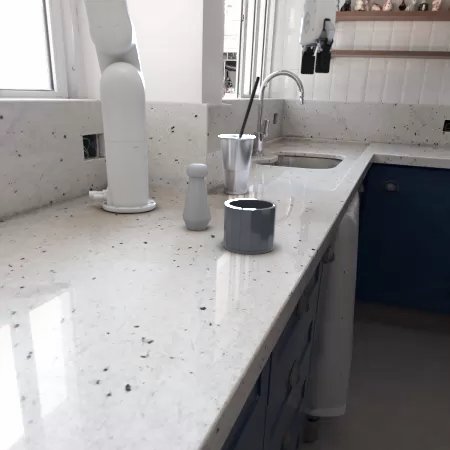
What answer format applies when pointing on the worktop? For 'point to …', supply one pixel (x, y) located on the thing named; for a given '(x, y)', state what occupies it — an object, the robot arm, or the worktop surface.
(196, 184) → the salt shaker
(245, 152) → the glass
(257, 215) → the grey mortar cup
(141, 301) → the worktop surface
